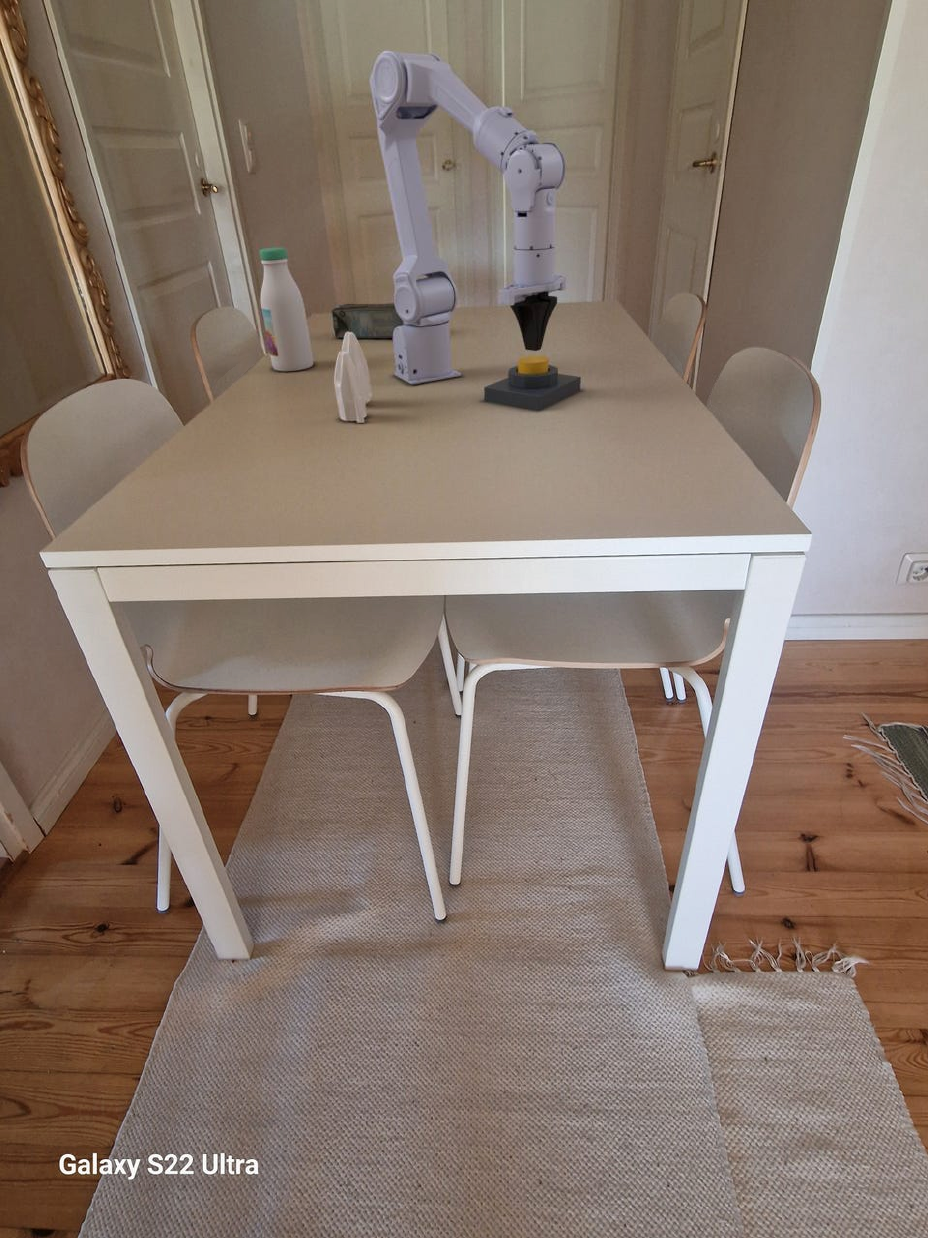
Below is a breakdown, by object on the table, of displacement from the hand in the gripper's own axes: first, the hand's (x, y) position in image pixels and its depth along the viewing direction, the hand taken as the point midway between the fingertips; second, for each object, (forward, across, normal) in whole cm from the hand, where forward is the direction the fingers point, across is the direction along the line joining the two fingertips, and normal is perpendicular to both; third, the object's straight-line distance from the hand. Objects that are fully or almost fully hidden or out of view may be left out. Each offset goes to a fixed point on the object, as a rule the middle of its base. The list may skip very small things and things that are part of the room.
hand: (533, 349), depth 104 cm
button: (+3, 0, 0) cm, 3 cm away
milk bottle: (+7, -6, +50) cm, 51 cm away
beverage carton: (+7, +22, +55) cm, 59 cm away
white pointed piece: (+7, -20, +19) cm, 28 cm away
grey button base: (+7, 0, 0) cm, 7 cm away
